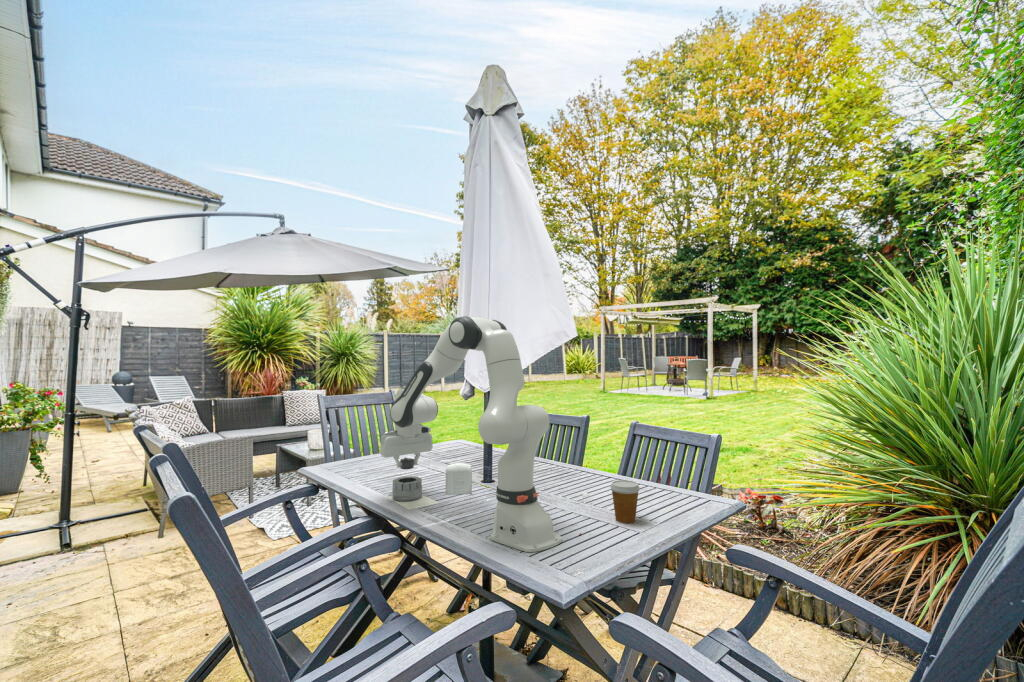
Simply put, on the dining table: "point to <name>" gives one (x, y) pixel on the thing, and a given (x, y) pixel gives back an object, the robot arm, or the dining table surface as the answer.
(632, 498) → the disposable coffee cup
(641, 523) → the dining table surface
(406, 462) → the cap
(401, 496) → the grey castle nut
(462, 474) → the photo printer
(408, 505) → the board
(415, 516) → the dining table surface
